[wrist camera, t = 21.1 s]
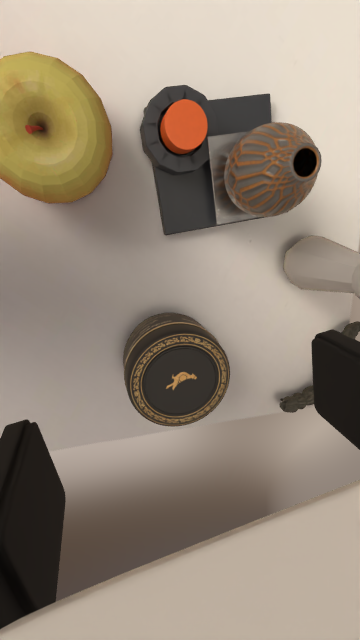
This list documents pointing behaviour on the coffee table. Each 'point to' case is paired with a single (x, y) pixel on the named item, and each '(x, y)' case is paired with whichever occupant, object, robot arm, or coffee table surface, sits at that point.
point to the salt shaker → (323, 266)
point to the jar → (174, 370)
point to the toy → (307, 395)
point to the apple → (51, 129)
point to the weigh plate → (217, 159)
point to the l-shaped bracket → (194, 154)
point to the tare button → (183, 126)
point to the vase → (271, 169)
